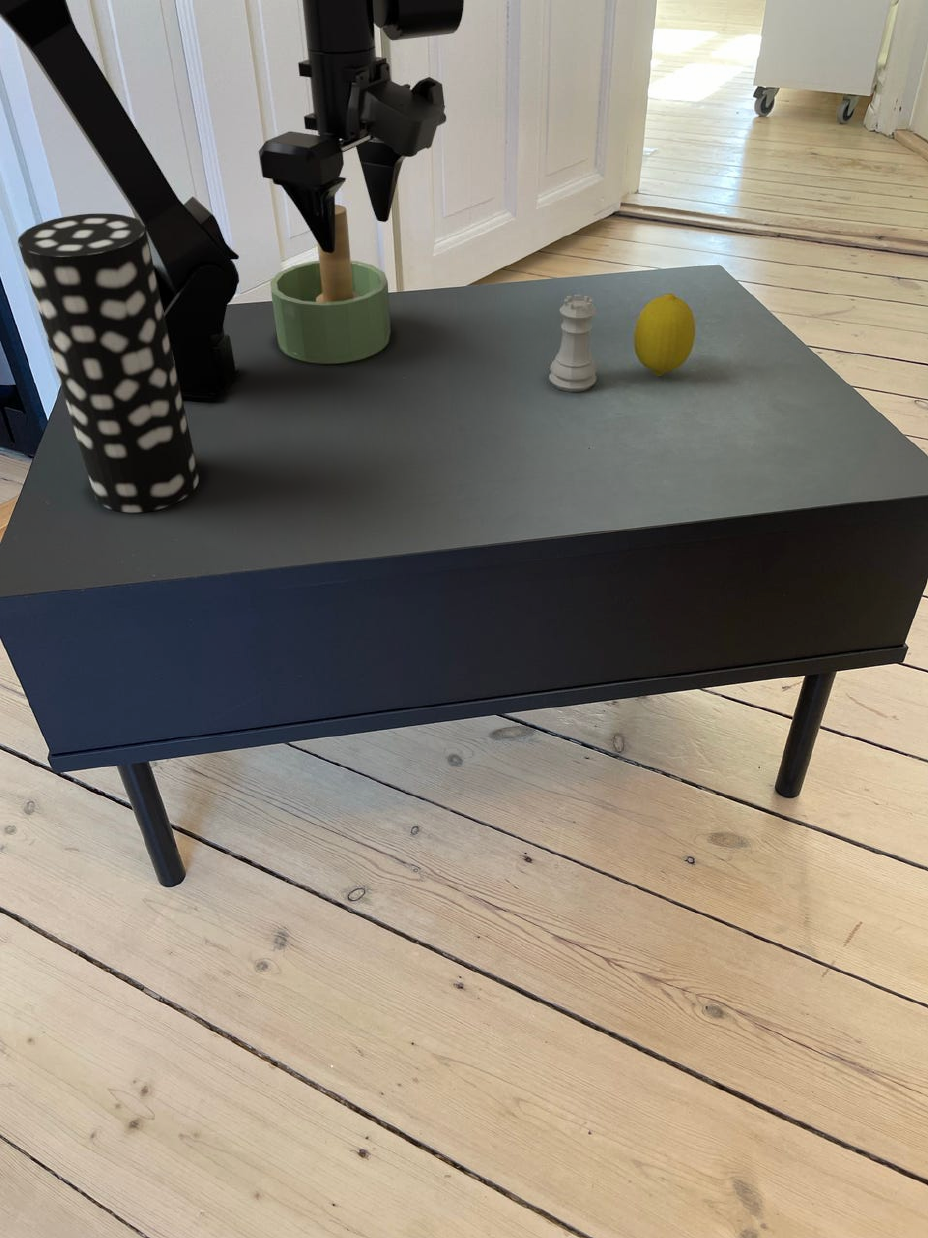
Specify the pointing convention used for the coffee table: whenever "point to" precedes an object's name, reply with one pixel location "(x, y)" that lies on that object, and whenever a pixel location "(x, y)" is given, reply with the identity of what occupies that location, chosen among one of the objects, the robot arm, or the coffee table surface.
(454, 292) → the coffee table surface
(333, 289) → the pestle
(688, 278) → the coffee table surface
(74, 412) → the white-spotted black cylinder
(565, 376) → the rook chess piece
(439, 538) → the coffee table surface
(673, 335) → the lemon
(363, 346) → the crock
